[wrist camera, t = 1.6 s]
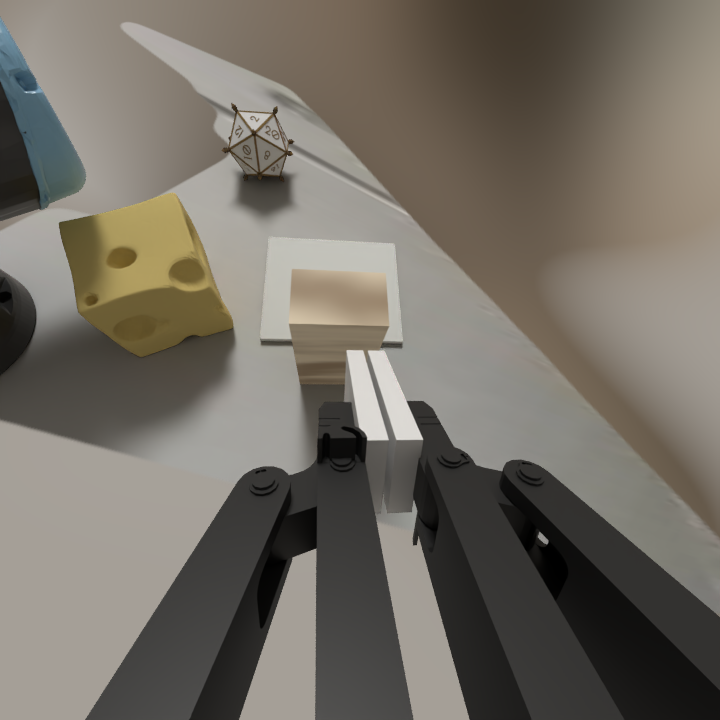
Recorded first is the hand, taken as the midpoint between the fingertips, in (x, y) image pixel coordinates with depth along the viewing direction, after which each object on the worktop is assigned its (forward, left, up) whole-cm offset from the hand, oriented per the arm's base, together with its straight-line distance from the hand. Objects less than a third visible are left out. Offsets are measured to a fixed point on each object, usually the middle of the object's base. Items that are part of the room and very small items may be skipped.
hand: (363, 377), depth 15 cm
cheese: (-23, +7, -20) cm, 31 cm away
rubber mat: (-7, +16, -20) cm, 27 cm away
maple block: (-4, +7, -20) cm, 22 cm away
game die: (-23, +30, -20) cm, 43 cm away
